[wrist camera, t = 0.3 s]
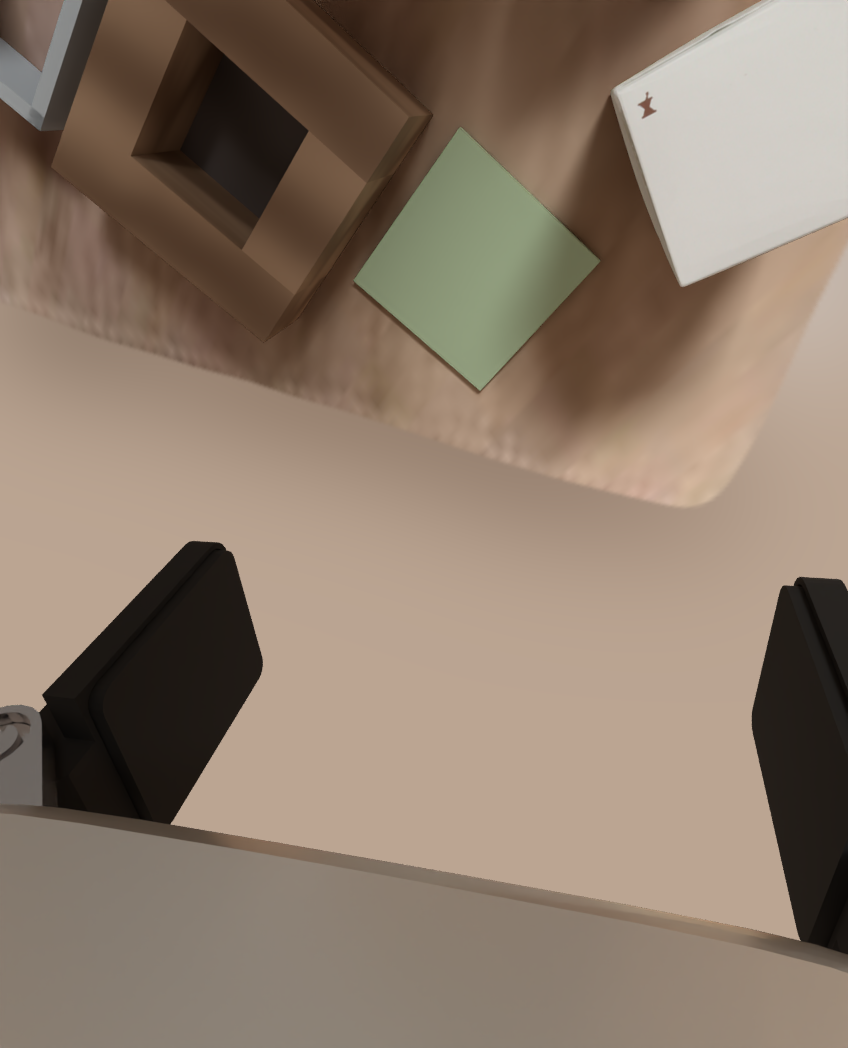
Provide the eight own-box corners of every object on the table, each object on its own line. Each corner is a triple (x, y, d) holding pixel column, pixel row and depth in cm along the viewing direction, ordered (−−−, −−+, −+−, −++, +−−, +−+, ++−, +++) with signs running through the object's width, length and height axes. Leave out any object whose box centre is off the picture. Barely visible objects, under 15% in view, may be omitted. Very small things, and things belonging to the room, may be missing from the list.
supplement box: (654, 237, 35) (673, 295, 25) (607, 88, 33) (605, 83, 22) (809, 168, 32) (904, 201, 22) (772, -4, 29) (860, -59, 19)
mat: (461, 126, 35) (459, 127, 34) (600, 260, 37) (600, 261, 36) (355, 279, 40) (353, 280, 40) (481, 388, 42) (480, 390, 42)
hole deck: (210, -98, 32) (151, -126, 28) (433, 114, 35) (409, 116, 31) (108, 160, 40) (50, 167, 36) (297, 319, 42) (263, 342, 38)
